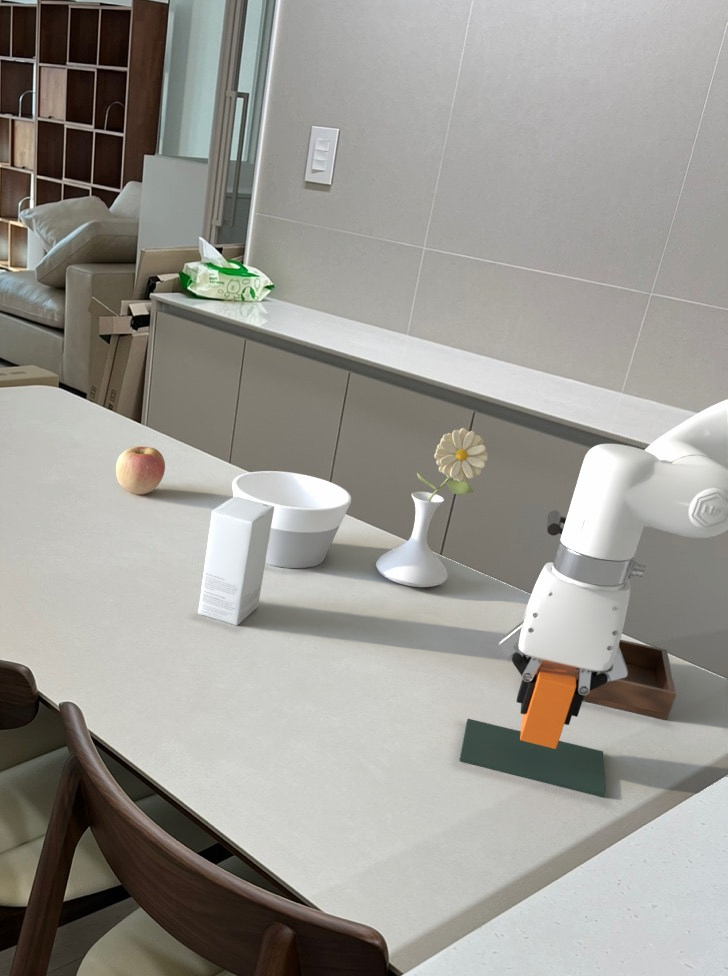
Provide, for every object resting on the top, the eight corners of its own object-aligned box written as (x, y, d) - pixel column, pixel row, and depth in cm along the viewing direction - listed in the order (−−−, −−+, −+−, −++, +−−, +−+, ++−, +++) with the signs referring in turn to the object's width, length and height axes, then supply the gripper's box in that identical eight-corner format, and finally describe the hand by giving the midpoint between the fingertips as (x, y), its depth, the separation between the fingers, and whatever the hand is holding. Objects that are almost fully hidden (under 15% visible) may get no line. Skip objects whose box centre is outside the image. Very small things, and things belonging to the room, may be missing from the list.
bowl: (360, 573, 170) (372, 509, 165) (250, 576, 163) (260, 510, 158) (309, 530, 185) (320, 470, 180) (207, 532, 179) (215, 470, 174)
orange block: (556, 725, 124) (576, 664, 120) (556, 749, 119) (576, 686, 115) (521, 717, 125) (540, 656, 121) (519, 740, 119) (538, 678, 116)
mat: (602, 754, 126) (603, 751, 125) (604, 797, 117) (605, 793, 117) (466, 721, 129) (467, 718, 129) (459, 761, 121) (460, 757, 120)
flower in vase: (368, 583, 166) (401, 425, 154) (379, 560, 176) (411, 410, 164) (452, 602, 163) (491, 442, 151) (458, 577, 173) (496, 425, 161)
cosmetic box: (220, 596, 155) (234, 494, 148) (261, 608, 153) (277, 505, 146) (195, 615, 148) (209, 508, 141) (238, 627, 146) (254, 520, 139)
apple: (166, 489, 197) (171, 446, 194) (154, 502, 190) (158, 459, 186) (122, 481, 199) (125, 439, 195) (108, 494, 191) (111, 450, 187)
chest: (658, 673, 148) (667, 649, 146) (666, 720, 135) (676, 694, 134) (530, 645, 152) (537, 621, 150) (526, 687, 139) (534, 662, 138)
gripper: (671, 570, 113) (619, 717, 122) (512, 537, 117) (473, 682, 125) (677, 594, 107) (622, 748, 115) (509, 558, 110) (467, 710, 119)
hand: (544, 712), depth 120 cm, fingers closed on orange block, 4 cm apart
